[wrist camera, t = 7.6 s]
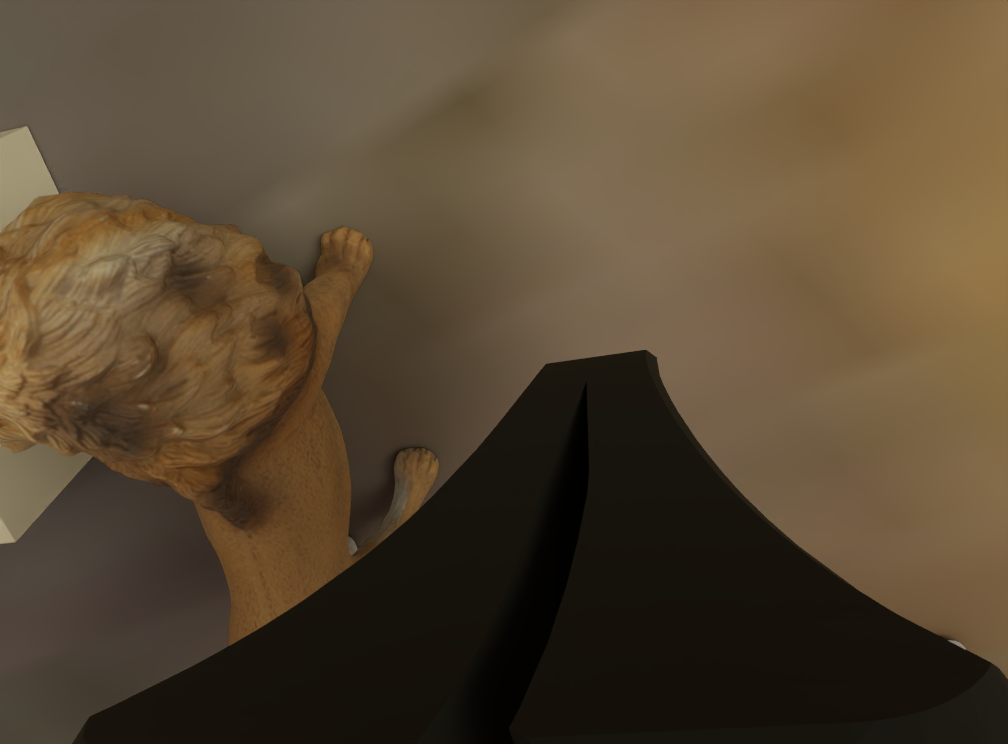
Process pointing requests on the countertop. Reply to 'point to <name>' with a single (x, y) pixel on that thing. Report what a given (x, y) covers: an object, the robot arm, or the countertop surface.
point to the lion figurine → (194, 380)
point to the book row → (40, 469)
